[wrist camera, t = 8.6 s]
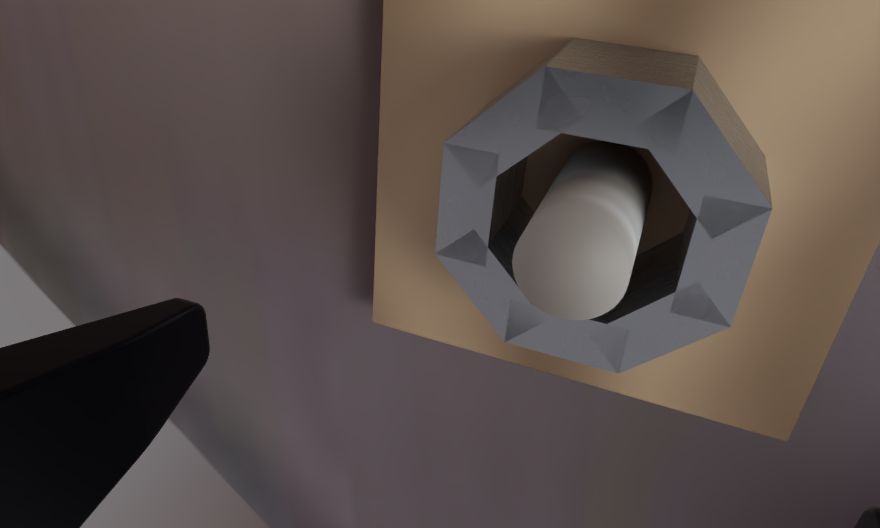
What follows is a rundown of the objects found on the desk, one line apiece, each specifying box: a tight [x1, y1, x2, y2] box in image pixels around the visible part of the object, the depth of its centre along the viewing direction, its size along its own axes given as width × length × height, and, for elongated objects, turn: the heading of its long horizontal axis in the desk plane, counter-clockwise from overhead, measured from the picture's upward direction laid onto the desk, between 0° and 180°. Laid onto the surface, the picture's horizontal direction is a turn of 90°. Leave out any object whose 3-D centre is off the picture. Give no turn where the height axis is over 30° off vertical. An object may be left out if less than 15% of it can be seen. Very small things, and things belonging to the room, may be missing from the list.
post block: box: [373, 0, 880, 442], centre depth 15 cm, size 12×12×6 cm
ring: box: [435, 37, 773, 374], centre depth 15 cm, size 6×6×3 cm
